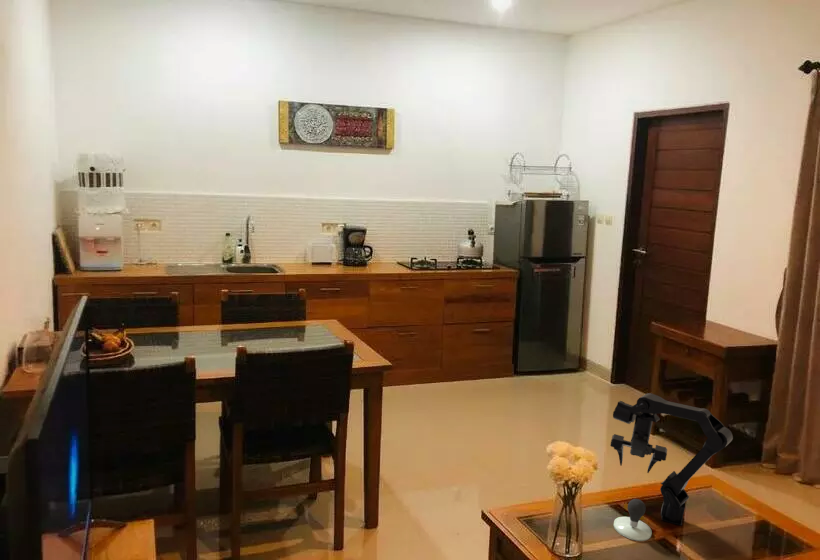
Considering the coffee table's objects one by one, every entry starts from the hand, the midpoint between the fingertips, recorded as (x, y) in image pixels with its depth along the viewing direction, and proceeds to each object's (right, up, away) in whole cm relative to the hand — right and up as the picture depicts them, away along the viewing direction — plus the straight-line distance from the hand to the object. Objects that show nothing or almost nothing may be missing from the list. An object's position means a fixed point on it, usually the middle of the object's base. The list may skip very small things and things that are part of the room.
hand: (634, 468), depth 235 cm
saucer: (-6, -15, -16) cm, 24 cm away
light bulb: (-6, -15, -17) cm, 23 cm away
